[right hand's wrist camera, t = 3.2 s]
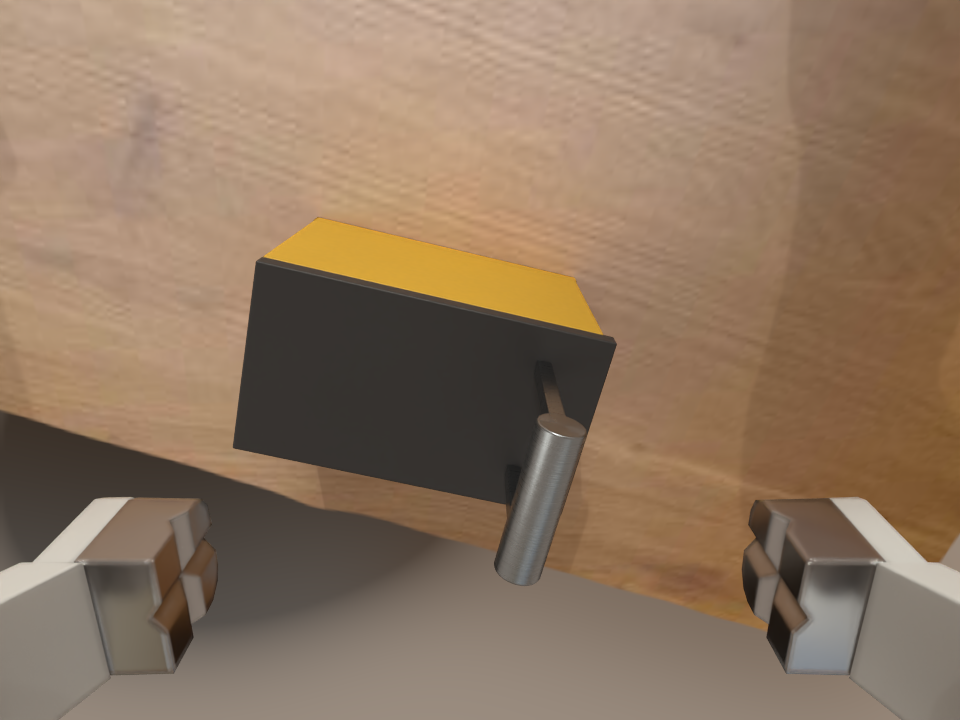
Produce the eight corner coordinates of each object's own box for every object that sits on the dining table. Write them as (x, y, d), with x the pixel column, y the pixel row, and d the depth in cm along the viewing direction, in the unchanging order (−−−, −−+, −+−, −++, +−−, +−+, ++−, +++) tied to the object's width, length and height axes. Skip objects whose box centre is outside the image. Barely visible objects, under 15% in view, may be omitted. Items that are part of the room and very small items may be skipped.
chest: (574, 277, 42) (604, 334, 32) (534, 412, 45) (550, 504, 35) (317, 217, 41) (262, 255, 30) (295, 360, 44) (239, 439, 34)
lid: (613, 337, 32) (659, 418, 24) (558, 506, 35) (582, 629, 27) (262, 256, 30) (181, 312, 22) (238, 439, 34) (160, 547, 25)
